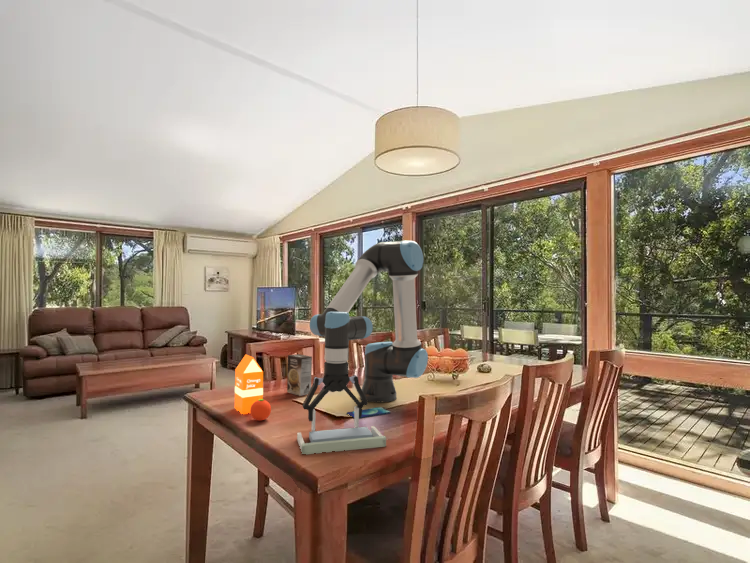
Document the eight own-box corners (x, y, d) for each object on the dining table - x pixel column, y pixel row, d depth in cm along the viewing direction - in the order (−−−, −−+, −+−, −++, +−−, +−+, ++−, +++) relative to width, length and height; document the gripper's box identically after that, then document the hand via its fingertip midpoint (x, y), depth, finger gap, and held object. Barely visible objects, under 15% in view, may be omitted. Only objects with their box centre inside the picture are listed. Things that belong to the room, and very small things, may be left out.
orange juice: (254, 405, 159) (255, 353, 160) (262, 411, 152) (264, 356, 153) (233, 408, 155) (235, 355, 155) (241, 414, 148) (242, 358, 148)
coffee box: (286, 392, 180) (287, 355, 181) (298, 389, 185) (298, 353, 185) (300, 396, 174) (300, 357, 175) (311, 393, 179) (312, 355, 180)
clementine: (249, 417, 145) (249, 396, 145) (269, 415, 147) (269, 395, 147) (250, 424, 137) (251, 402, 137) (272, 422, 140) (272, 401, 140)
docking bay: (373, 432, 131) (374, 424, 131) (386, 446, 120) (386, 437, 120) (297, 439, 124) (297, 431, 124) (302, 454, 113) (302, 445, 113)
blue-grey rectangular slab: (366, 434, 131) (366, 426, 131) (372, 442, 124) (372, 434, 124) (309, 439, 125) (309, 431, 125) (312, 448, 119) (312, 439, 119)
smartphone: (345, 412, 151) (380, 406, 159) (345, 414, 151) (380, 409, 158) (355, 418, 144) (391, 411, 152) (355, 420, 144) (391, 414, 152)
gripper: (371, 358, 137) (370, 422, 136) (294, 360, 130) (293, 428, 129) (378, 361, 130) (376, 430, 129) (297, 364, 123) (295, 437, 122)
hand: (335, 429), depth 129 cm, fingers open, 13 cm apart
